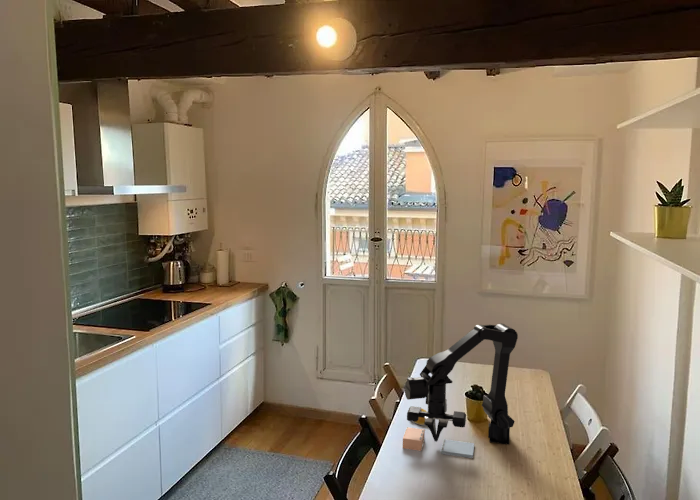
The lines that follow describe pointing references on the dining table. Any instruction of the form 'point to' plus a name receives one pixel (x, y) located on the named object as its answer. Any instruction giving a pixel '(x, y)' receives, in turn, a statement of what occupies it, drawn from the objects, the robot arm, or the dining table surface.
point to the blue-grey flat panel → (457, 448)
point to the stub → (413, 438)
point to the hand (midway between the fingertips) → (436, 440)
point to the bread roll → (420, 419)
